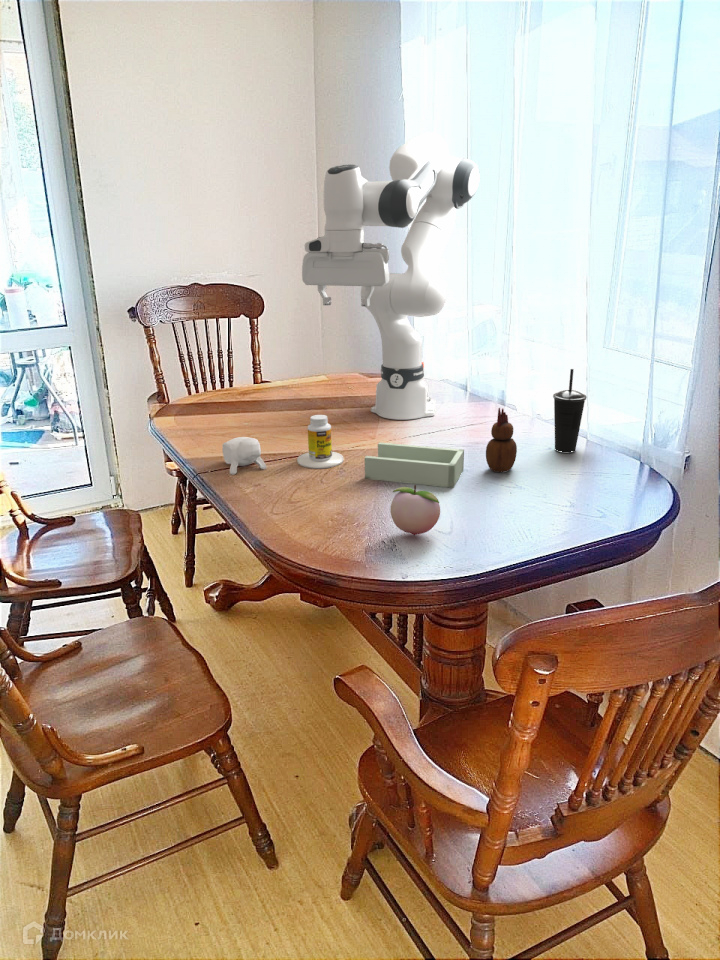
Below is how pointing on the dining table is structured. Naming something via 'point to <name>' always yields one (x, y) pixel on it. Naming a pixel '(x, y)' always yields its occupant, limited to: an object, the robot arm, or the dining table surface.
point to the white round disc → (308, 463)
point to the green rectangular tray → (415, 464)
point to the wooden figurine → (501, 445)
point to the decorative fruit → (414, 510)
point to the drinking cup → (568, 417)
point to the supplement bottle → (319, 438)
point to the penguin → (242, 453)
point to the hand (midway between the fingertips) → (346, 305)
